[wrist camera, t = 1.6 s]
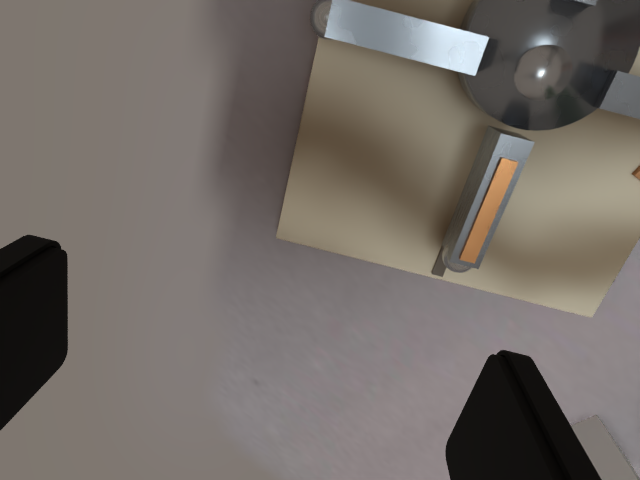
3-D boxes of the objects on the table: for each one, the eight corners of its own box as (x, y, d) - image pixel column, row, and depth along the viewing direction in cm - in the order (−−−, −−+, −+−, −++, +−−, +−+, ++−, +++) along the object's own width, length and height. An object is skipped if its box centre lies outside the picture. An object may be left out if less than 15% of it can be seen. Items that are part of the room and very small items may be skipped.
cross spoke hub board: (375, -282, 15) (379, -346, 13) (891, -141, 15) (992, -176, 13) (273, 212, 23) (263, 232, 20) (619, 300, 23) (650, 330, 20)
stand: (395, -312, 16) (399, -348, 14) (891, -175, 16) (943, -197, 15) (278, 231, 25) (273, 242, 23) (598, 311, 25) (613, 328, 24)
